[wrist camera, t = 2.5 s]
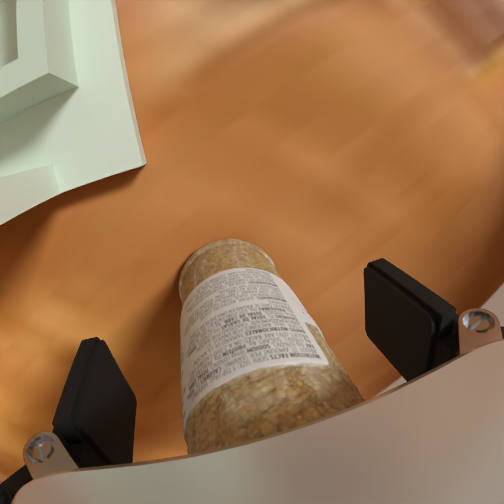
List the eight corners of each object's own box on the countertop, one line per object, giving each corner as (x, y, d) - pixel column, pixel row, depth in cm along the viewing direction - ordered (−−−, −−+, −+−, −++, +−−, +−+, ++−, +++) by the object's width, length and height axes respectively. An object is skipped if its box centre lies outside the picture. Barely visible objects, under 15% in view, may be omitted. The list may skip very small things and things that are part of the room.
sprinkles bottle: (275, 319, 16) (414, 581, 3) (183, 330, 15) (222, 636, 3) (276, 230, 14) (527, 508, 2) (171, 238, 13) (180, 647, 1)
